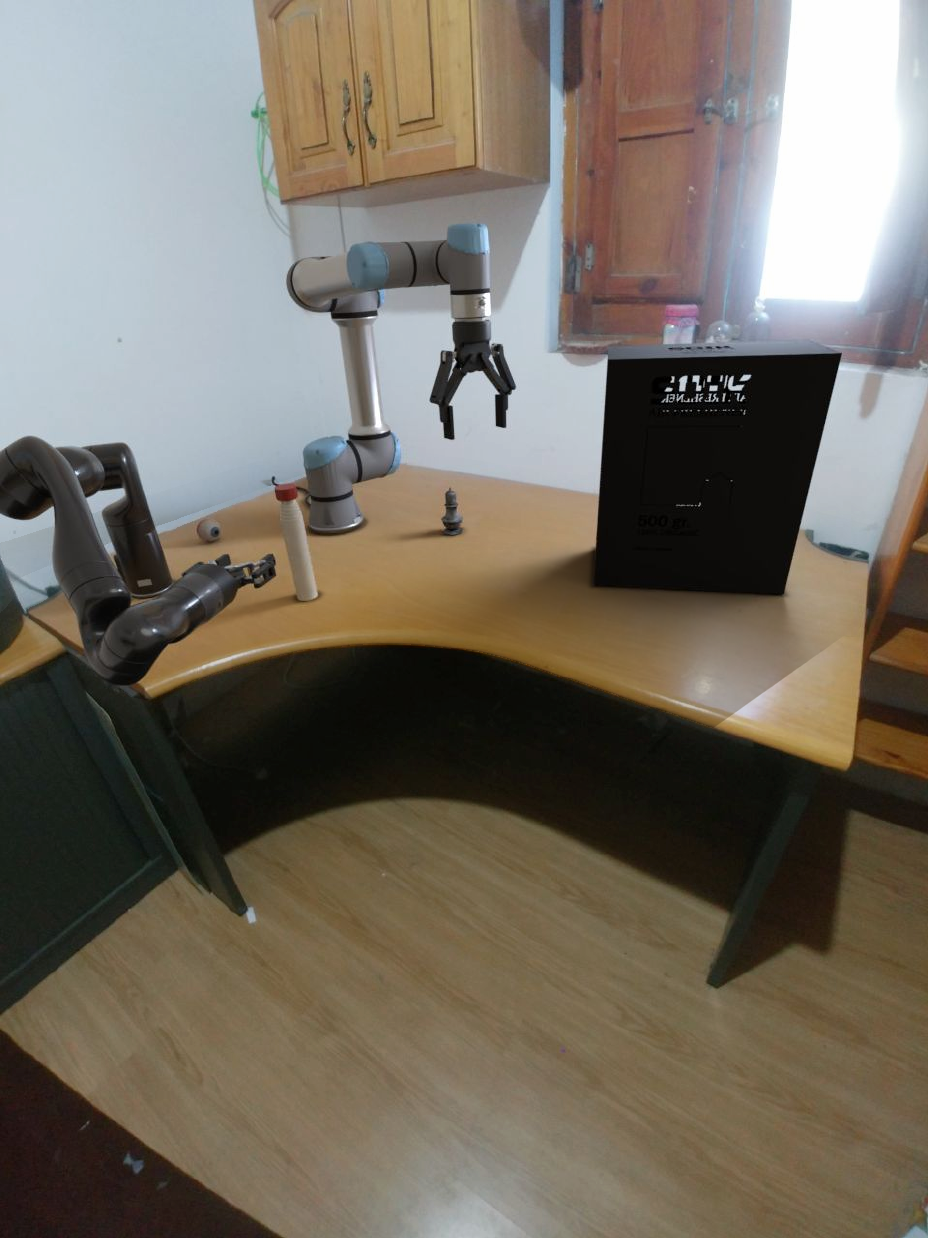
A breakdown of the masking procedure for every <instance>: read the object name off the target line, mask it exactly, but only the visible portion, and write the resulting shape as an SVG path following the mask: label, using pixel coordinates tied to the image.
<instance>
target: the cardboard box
mask: <svg viewBox="0 0 928 1238" xmlns="http://www.w3.org/2000/svg"><path fill="white" fill-rule="evenodd" d="M842 355H843V352H840V351H838V350H835V349H833V348H831V347H829V346H826V345H823V344H821V343H818V342H815V341H813V340H810V339H790V340H789V339H788V340H783V339H782V340H758V341H757V340H755V341H754V340H753V341H725V342H723V341H721V342H695V343H694V342H692V343H663V344H662V343H661V344H659V343H658V344H634V345H633V344H632V345H629V344H628V345H608V346H607V361H606V376H605V377H606V378H605V393H604V408H603V409H604V411H603V425H602V442H601V458H600V474H599V487H598V488H599V489H598V492H599V493H598V505H597V520H596V521H597V522H596V536H595V537H596V538H595V553H594V555H595V556H594V573H593V586H595V587H596V586H597V587H615V588H616V587H619V588H641V589H659V590H682V591H700V592H701V591H704V592H726V593H745V594H746V593H747V594H766V595H767V594H768V595H784V594H785V592H786V586H787V582H788V578H789V575H790V570H791V566H792V561H793V558H794V553H795V550H796V545H797V541H798V538H799V534H800V529H801V525H802V521H803V516H804V512H805V508H806V504H807V499H808V496H809V491H810V487H811V484H812V480H813V475H814V471H815V466H816V462H817V458H818V454H819V452H820V451H819V450H820V446H821V443H822V437H823V433H824V430H825V425H826V423H827V422H826V421H827V418H828V414H829V409H830V405H831V402H832V397H833V393H834V390H835V389H834V388H835V384H836V381H837V375H838V372H839V367H840V364H841V359H842ZM744 376H749V378H748V379H746V380H742V378H743V377H744ZM684 377H686V382H685V387H684V390H680V387H681V381H680V380H681V379H682V378H684ZM694 377H699V378H698V382H697V381H694ZM709 377H710V381H708V379H709ZM731 378H732V383H731V387H737V386H742V387H741V389H740V390H739V389H738V390H736V389H735V390H732V389H730V388H729V382H730V380H731ZM697 386H699V387H700V390H697ZM711 387H717V388H716V390H710V389H711ZM667 389H671V390H667Z"/></svg>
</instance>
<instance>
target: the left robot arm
mask: <svg viewBox="0 0 928 1238" xmlns="http://www.w3.org/2000/svg"><path fill="white" fill-rule="evenodd" d="M138 467H139V466H138V463H137V461H136V457H135V454H134V453H133V450H132V449H131V448H130V446H129V445H128V444H127V443H125V442H123V441H121V442H119V441H118V442H110V443H100V444H99V443H98V444H93V445H92V444H89V445H85V446H81V447H80V446H74V445H73V446H72V445H68V446H67V445H63V446H53V445H52V444H51V443H49V442H47V441H46V440H44V438H41V437H38V436H36V435H25V436H22V437H20V438H18V439H17V440H15V441H13V442H12V443H10V444H8V445H7V446H5V448H3V449H1V450H0V515H2V516H4V517H5V518H9V519H11V520H12V519H13V520H17V521H30V520H33V519H36V518H38V517H39V516H41V515H42V514H44V513H45V512H47V511H49V510H50V509H51V508H53V515H54V529H53V541H52V552H51V560H52V569H53V573H54V576H55V579H56V581H57V584H58V585H59V587H60V589H61V591H62V593H63V594H64V596H65V598H66V599H67V601H68V604H69V605H70V606H71V608H72V610H73V612H74V614H75V615H76V621H77V626H78V631H79V635H80V640H81V642H82V646H83V650H84V653H85V657H86V659H87V661H88V663H89V665H90V667H91V668H92V670H93V671H94V672H95V674H97V675H98V677H100V678H101V679H102V680H104V681H105V682H107V683H109V684H112V685H114V686H119V687H121V686H122V687H128V686H133V685H135V684H137V683H139V682H140V681H142V679H144V678H145V677H146V675H148V674H149V672H150V670H151V668H152V667H153V666H154V664H155V663H156V661H157V660H158V659H159V657H160V656H161V654H162V653H163V651H164V650H165V649H166V648H167V647H168V646H169V645H172V644H174V645H175V644H177V643H180V642H181V641H184V639H186V638H187V637H189V636H190V635H191V634H193V632H195V631H196V630H198V629H199V628H201V626H203V625H205V624H207V623H208V622H210V621H211V620H212V619H214V618H215V617H216V616H217V615H218V614H219V613H221V612H222V611H223V610H224V609H226V608H227V607H228V606H229V605H230V604H232V603H233V602H234V600H235V598H236V597H237V594H238V591H239V589H241V588H243V587H246V586H247V585H251V584H253V588H254V589H261V588H263V586H266V584H268V583H269V582H270V581H272V580H273V579H274V578H275V577H277V571H276V568H275V567H276V565H277V561H276V557H275V555H274V554H273V553H267V554H266V555H264V556H263V557H261V559H259V560H258V561H254V562H251V561H245V562H240V563H238V564H235V565H234V564H232V560H231V556H230V554H229V553H224V554H222V555H220V556H219V557H217V558H216V559H215V560H213V559H211V560H208V561H207V562H206V563H204V561H197V562H196V563H194V564H193V565H191V566H190V567H188V568H187V569H186V570H184V571H183V572H182V573H181V577H180V578H178V579H177V580H176V581H174V579H173V577H172V574H171V570H170V568H169V564H168V561H167V558H166V555H165V552H164V549H163V546H162V544H161V540H160V537H159V534H158V531H157V528H156V524H155V522H154V519H153V515H152V513H151V510H150V507H149V503H148V499H147V496H146V494H145V493H146V492H145V490H144V487H143V483H142V479H141V476H140V472H139V468H138ZM120 489H121V490H122V489H123V490H124V495H123V496H122V497H121V498H118V500H116V501H114V502H112V503H110V504H107V505H106V506H105V507H104V508H103V509H102V510H101V517H102V520H103V523H104V526H105V528H106V531H107V534H108V536H109V539H110V542H111V544H112V548H113V550H114V552H115V554H114V555H113V556H112V558H113V560H112V559H111V556H110V554H109V553H108V551H107V549H106V547H105V545H104V543H103V540H102V538H101V536H100V533H99V531H98V528H97V525H96V522H95V519H94V516H93V513H92V511H91V508H90V505H89V503H88V500H87V499H88V498H91V497H92V496H94V495H96V494H97V493H98V492H105V491H112V490H120ZM255 568H256V570H255ZM244 569H247V574H248V575H247V574H246V571H245V570H244ZM133 598H136V599H148V598H152V599H148V600H146V601H142V602H138V603H136V604H135V603H134V604H132V603H133V602H132V600H133Z"/></svg>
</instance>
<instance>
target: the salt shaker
mask: <svg viewBox="0 0 928 1238" xmlns="http://www.w3.org/2000/svg"><path fill="white" fill-rule="evenodd" d="M444 497H445V498H444V499H445V500H444V501H445V503H444V505H443V506H444V507H445V514H444V516H442V517H441V518H440V520H441V522H442V525H443V527H445V528H444V529H443V530H442V533H443V534H445V535H447V536H448V535H449V536H455V535H459V534H461V533H463V532H464V529H463V528H462V527H461V525H462V524H463V520H464V516H463V515H461V514H459V511H458V506H459V503H458V501H457V493H456V491H455V490H452V487H449V488H448V490H447V491H446V492H445V493H444Z"/></svg>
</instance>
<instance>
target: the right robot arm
mask: <svg viewBox="0 0 928 1238" xmlns="http://www.w3.org/2000/svg"><path fill="white" fill-rule="evenodd" d="M490 252H491V248H490V241H489V229H488V226H487V225H486V224H485V223H483V222H464V223H462V222H461V223H454V224H451V225H449V226H448V227H447V229H446V239H438V240H414V241H413V240H411V241H379V242H375V241H364V242H359V243H358V242H357V243H354V244H352V245H351V246H350V247H349V250H348V251H345V252H341V253H339V254H336V255H328V256H326V255H325V256H310V257H304V258H301V259H299V260H297V261H295V262H294V263H293V264H291V265H290V267H289V269H288V271H287V273H286V281H285V282H286V283H285V284H286V290H287V292H288V294H289V296H290V298H291V299H292V301H293V302H294V303H295V304H296V305H297V306H298V307H300V308H301V309H303V310H306V311H308V312H312V313H320V314H321V313H330V319H331V321H332V322H333V323H334V324H335V325H336V326H337V327H338V331H339V338H340V347H341V353H342V354H341V355H342V361H343V369H344V375H345V381H346V389H347V396H348V403H349V410H350V418H351V425H350V426H349V428H348V430H347V436H348V439H345V437H343V436H341V435H332V436H324V437H321V438H318V439H315V440H312V441H311V442H309V443H308V444H306V445H305V446H304V448H303V450H302V457H303V459H302V460H303V467H304V471H305V476H306V481H307V486H308V489H306V488H304V487H301V486H297V485H296V488H297V490H300V491H303V492H305V493H306V494H307V495H306V497H305V498H304V503H305V504H306V505H307V506H308V507H309V513H308V521H307V524H308V528H309V529H308V530H310V531H311V532H312V533H314V534H317V535H323V536H324V535H325V536H327V535H329V536H331V535H339V534H340V535H341V534H345V533H350V532H353V531H355V530H357V529H359V528H361V527H362V526H363V525H364V523H365V519H364V514H363V512H362V510H361V508H360V505H359V504H358V501H357V500H356V498H355V495H354V489H353V485H354V484H355V485H356V484H359V483H363V482H368V481H371V480H375V479H381V478H385V477H387V476H390V475H392V474H394V473H396V472H397V471H398V469H399V467H400V465H401V462H402V446H401V443H400V441H399V437H398V436H397V435H396V434H395V432H394V431H391V426H390V425H388V423H386V422H385V420H384V419H385V418H384V409H383V402H382V393H381V392H382V391H381V383H380V376H379V366H378V356H377V349H376V340H375V331H374V324H375V322H376V321H377V319H378V318H379V312H378V309H380V308H381V307H382V306H383V305H384V303H385V298H386V290H390V289H393V290H394V289H401V288H403V289H404V288H405V289H406V288H419V287H421V288H422V287H438V286H449V296H450V297H449V298H450V317H451V319H453V320H454V321H453V322H452V324H451V332H452V333H451V334H452V335H451V336H452V341H453V344H454V348H453V351H451V350H444V349H442V350H441V351H440V356H439V366H438V369H437V373H436V376H435V379H434V383H433V386H432V388H431V389H432V390H431V393H430V397H429V402H430V403H431V404H434V405H437V406H438V411H439V413H438V414H439V421H440V423H442V426H443V428H442V430H443V439H446V440H450V441H454V440H455V439H456V438H455V421H454V420H455V419H454V406H453V405H450V403H451V402H452V400H453V398H454V396H455V394H456V392H457V390H458V388H459V386H460V385H461V383H462V381H463V379H464V378H465V377H466V376H467V375H468V374H473V373H475V372H483V374H484V375H485V377H486V378H487V380H488V381H489V382H490V384H491V385H492V386H493V387H494V389H495V390H496V391H497V393H496V394H494V407H495V408H494V415H495V427H497V428H501V429H507V411H509V396H511V395H512V393H513V391H514V390H516V388H517V385H516V382H515V380H514V378H513V374H512V371H511V370H510V367H509V364H508V361H507V359H506V357H505V352H504V344H503V343H496V342H495V343H490V341H491V340H492V322H491V320H490V319H488V318H490V317H491V314H492V313H491V311H492V310H491V273H490V272H491V271H490V270H491V269H490V268H491V265H490V263H491V262H490ZM490 357H492V362H493V363H494V364H493V363H492V362H491V359H490ZM454 362H455V364H454V366H453V363H454ZM275 480H276V476H274V475H273V476H272V477H271V483H272V485H273V486H275V487H276V486H278V485H281V484H279V483H276V482H275ZM309 498H310V502H309Z"/></svg>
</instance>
